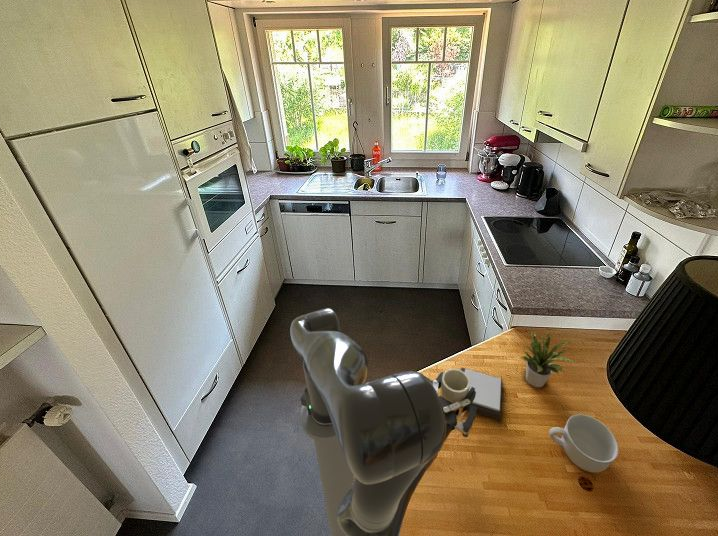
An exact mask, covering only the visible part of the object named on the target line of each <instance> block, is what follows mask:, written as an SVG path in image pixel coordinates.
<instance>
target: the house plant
mask: <svg viewBox="0 0 718 536" xmlns="http://www.w3.org/2000/svg"><path fill="white" fill-rule="evenodd" d="M529 332H530V335H531V338H532V340H531V342H529V345H530V346H531V347H530V346H528V345H527V344H525V343H521V345H522V346H524V347H525V348H527V349H528V350H529V351H530V352H531V354H532V355H533V356H531V354H529V353H528V352H527V351H526V350H525V349H522V352H524V354H525V356H521V357H519V358H520V359H523V361H526V367H525V368H526V369H525V380H526V382H527V383H528V384H529V385H530V386H532V387H534V388H542V387H544V385H545V384H546V383H547V381H548V380H549V378H550V377H551V375H553V374H552V373H556V374H558V375H560V373H559V371H560V372H561V373H563V367H562V366H561V364H558V363H553V362H556V361H560V360H561V361H568V362H570V363H573V364H576V362H575V361H574V360H572V359H571V358H568V357H564V356H561V355H564V354H565V353H566V352H570V350H569V349H564V350H561V351H558V352H557V350H559V349H560V348H562V347H564V346H566V345H567V344H569V343H571V341H563V342H560V343H558V344H556V345H555V346H553V347H552V348H551V350H549V348H550V344H551V335H550V331H549V329H547V330H546V335H545V337H546V338H545V340H544V338H543V336H542V334H541V333H539V336H540V338H541V339H540V338H539V339H537V335H536V333H534V332H532V331H531V330H529ZM541 342H542V343H541ZM548 351H549V352H548Z"/></svg>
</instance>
